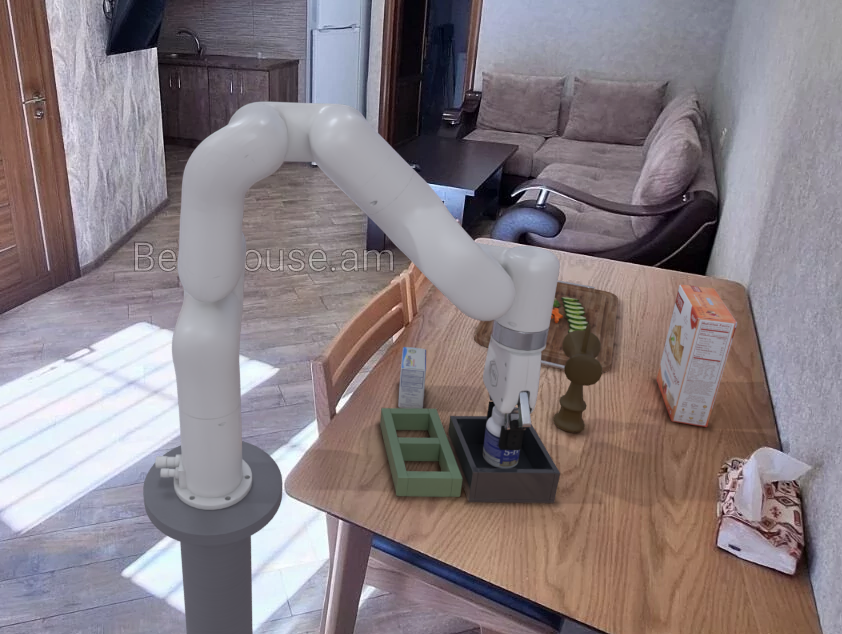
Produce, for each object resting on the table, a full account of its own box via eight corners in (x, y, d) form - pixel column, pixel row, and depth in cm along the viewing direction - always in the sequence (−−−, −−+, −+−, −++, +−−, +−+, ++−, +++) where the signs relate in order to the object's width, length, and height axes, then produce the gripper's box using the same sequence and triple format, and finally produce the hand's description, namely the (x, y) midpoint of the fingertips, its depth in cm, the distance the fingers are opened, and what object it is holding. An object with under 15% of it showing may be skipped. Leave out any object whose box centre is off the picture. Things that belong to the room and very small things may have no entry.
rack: (396, 496, 97) (398, 477, 96) (379, 424, 113) (381, 407, 112) (460, 497, 97) (462, 478, 96) (434, 425, 113) (436, 408, 112)
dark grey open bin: (468, 502, 96) (472, 472, 94) (446, 443, 108) (450, 415, 106) (554, 503, 96) (560, 473, 93) (522, 444, 108) (527, 416, 106)
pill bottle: (506, 474, 98) (512, 426, 94) (475, 457, 101) (480, 410, 98) (525, 459, 101) (531, 411, 97) (495, 443, 104) (500, 396, 101)
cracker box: (653, 380, 126) (678, 282, 118) (689, 386, 124) (716, 287, 116) (668, 422, 114) (697, 315, 106) (707, 429, 112) (740, 321, 104)
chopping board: (608, 382, 125) (611, 368, 124) (468, 348, 137) (469, 336, 136) (618, 294, 162) (620, 283, 161) (506, 274, 174) (508, 263, 173)
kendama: (585, 414, 116) (607, 314, 108) (588, 446, 108) (611, 341, 100) (549, 406, 118) (568, 308, 110) (549, 437, 110) (569, 334, 102)
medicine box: (422, 411, 117) (426, 370, 113) (397, 408, 118) (400, 367, 114) (422, 387, 124) (426, 348, 121) (399, 385, 125) (402, 345, 122)
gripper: (476, 305, 101) (463, 403, 107) (512, 363, 85) (495, 473, 92) (524, 305, 101) (509, 403, 107) (570, 363, 85) (548, 474, 91)
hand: (502, 435), depth 99 cm, fingers closed on pill bottle, 5 cm apart
